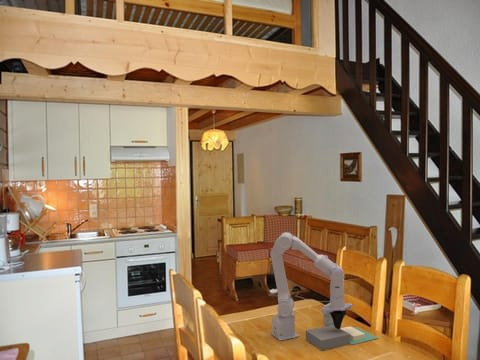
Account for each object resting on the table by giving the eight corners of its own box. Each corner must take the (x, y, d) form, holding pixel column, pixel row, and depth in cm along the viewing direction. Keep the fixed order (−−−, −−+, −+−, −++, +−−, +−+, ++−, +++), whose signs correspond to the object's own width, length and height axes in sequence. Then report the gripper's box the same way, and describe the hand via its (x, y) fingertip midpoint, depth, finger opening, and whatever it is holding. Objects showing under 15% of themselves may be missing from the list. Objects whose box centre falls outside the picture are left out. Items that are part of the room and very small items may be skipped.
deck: (321, 350, 144) (321, 340, 144) (305, 339, 154) (305, 330, 154) (350, 344, 150) (349, 334, 150) (333, 333, 160) (332, 324, 160)
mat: (351, 345, 149) (351, 344, 149) (331, 333, 161) (331, 332, 161) (378, 338, 154) (378, 338, 154) (357, 327, 166) (357, 327, 166)
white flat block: (364, 333, 154) (364, 338, 154) (350, 326, 162) (350, 330, 162) (353, 336, 152) (353, 341, 152) (339, 328, 160) (339, 333, 160)
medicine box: (332, 326, 168) (332, 307, 168) (323, 324, 170) (323, 306, 171) (339, 321, 174) (338, 303, 174) (330, 319, 177) (329, 301, 177)
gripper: (328, 300, 148) (329, 334, 148) (357, 295, 153) (357, 328, 153) (318, 295, 154) (318, 328, 154) (346, 291, 160) (346, 322, 160)
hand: (337, 327), depth 154 cm, fingers closed
